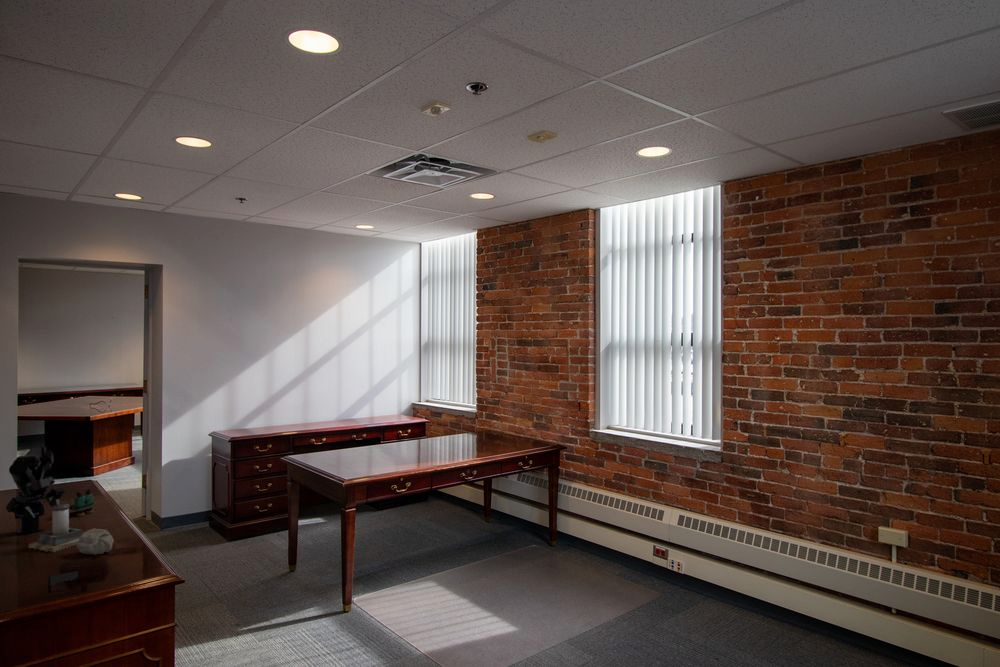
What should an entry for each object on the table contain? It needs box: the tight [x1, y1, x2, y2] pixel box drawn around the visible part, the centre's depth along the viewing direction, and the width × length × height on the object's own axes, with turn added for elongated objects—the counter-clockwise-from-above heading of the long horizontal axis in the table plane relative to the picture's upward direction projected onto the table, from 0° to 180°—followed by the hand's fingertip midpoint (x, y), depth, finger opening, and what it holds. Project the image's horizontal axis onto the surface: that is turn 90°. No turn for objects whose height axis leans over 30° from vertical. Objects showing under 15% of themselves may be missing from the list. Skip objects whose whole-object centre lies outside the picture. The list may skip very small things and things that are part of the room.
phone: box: [49, 571, 79, 587], centre depth 189 cm, size 7×1×15 cm
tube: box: [51, 503, 70, 536], centre depth 226 cm, size 5×5×13 cm
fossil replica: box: [76, 527, 115, 556], centre depth 216 cm, size 12×8×10 cm
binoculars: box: [69, 488, 95, 517], centre depth 266 cm, size 9×11×10 cm
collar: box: [27, 527, 84, 553], centre depth 225 cm, size 14×14×4 cm
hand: (47, 515), depth 229 cm, fingers open, 9 cm apart
